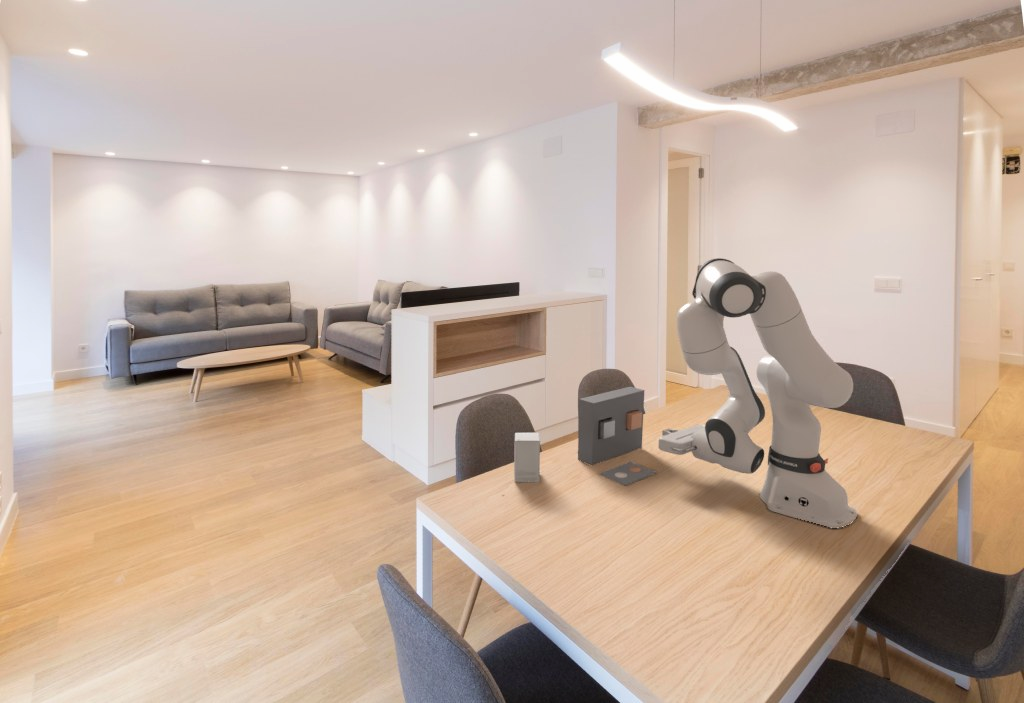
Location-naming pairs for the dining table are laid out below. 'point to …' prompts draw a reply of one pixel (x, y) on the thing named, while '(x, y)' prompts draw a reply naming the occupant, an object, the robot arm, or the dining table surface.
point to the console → (616, 409)
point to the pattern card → (627, 473)
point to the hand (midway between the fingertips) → (665, 431)
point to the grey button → (606, 428)
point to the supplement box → (527, 457)
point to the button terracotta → (633, 420)
